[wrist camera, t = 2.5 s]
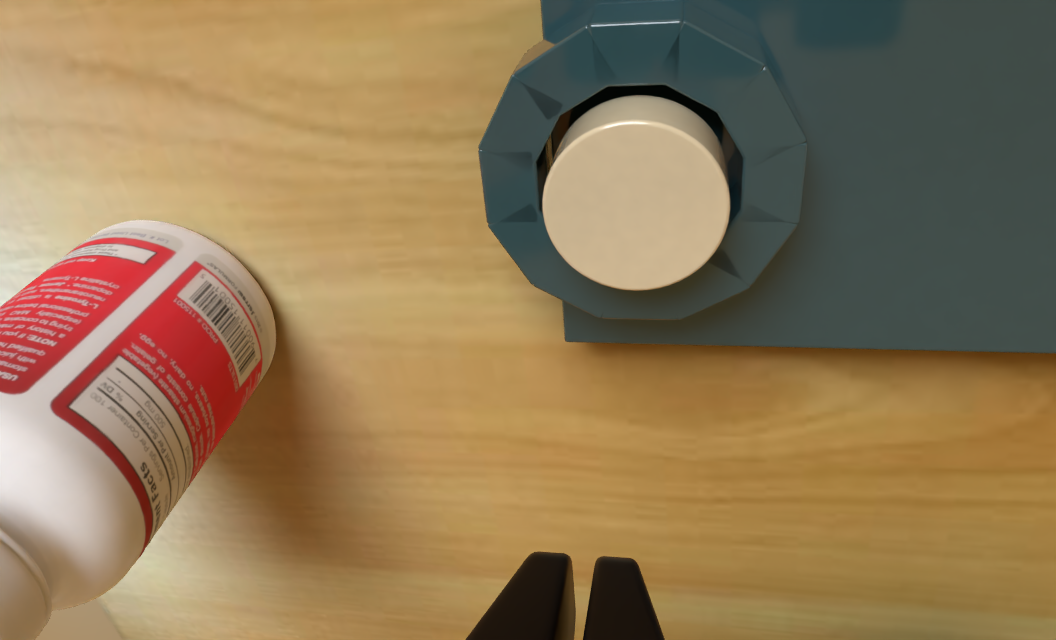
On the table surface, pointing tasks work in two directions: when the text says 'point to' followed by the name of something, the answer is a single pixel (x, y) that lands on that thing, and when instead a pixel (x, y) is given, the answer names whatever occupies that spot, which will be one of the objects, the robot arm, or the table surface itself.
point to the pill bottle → (115, 405)
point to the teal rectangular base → (813, 168)
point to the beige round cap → (637, 193)
